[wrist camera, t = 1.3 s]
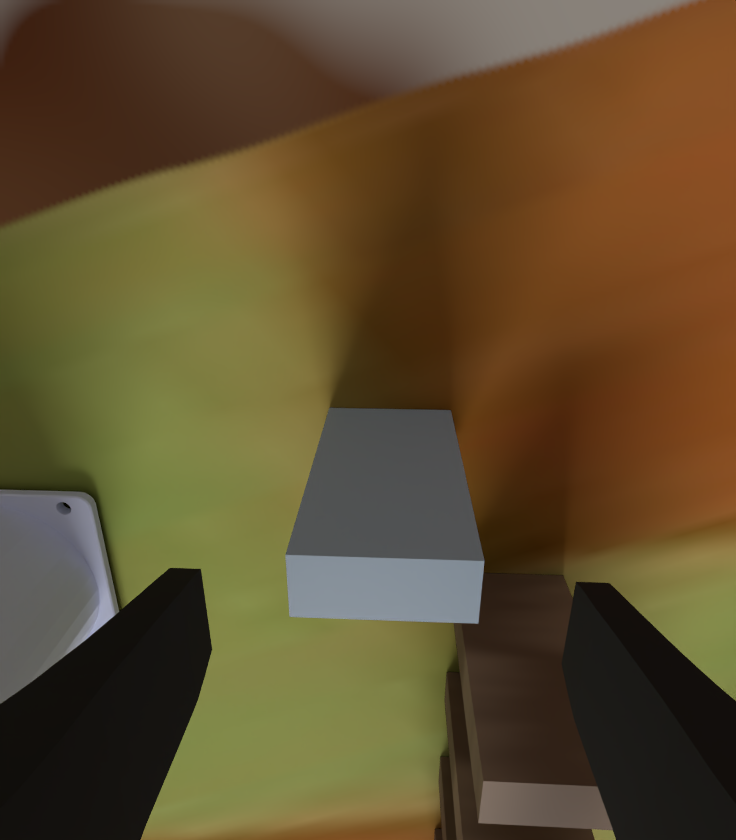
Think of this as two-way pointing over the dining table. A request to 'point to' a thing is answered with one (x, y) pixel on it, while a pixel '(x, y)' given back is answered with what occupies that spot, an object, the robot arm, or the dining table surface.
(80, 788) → the robot arm
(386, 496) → the domino
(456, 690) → the domino
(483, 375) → the dining table surface
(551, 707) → the domino
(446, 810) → the domino
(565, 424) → the dining table surface
